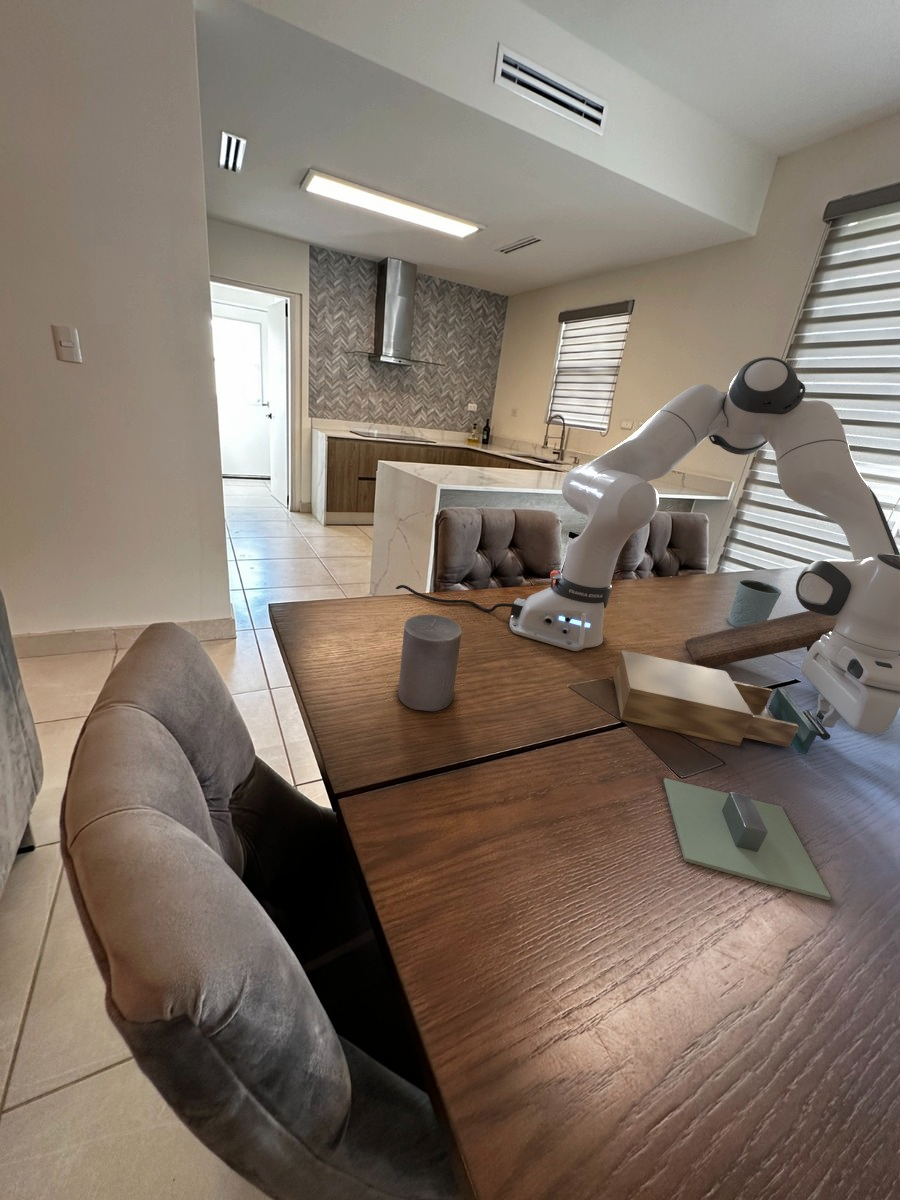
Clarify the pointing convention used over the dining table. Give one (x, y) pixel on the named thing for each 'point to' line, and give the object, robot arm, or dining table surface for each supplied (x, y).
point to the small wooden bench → (759, 639)
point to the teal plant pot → (753, 602)
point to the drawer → (779, 719)
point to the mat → (715, 847)
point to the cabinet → (680, 698)
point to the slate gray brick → (744, 822)
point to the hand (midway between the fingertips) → (823, 722)
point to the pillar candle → (429, 662)
